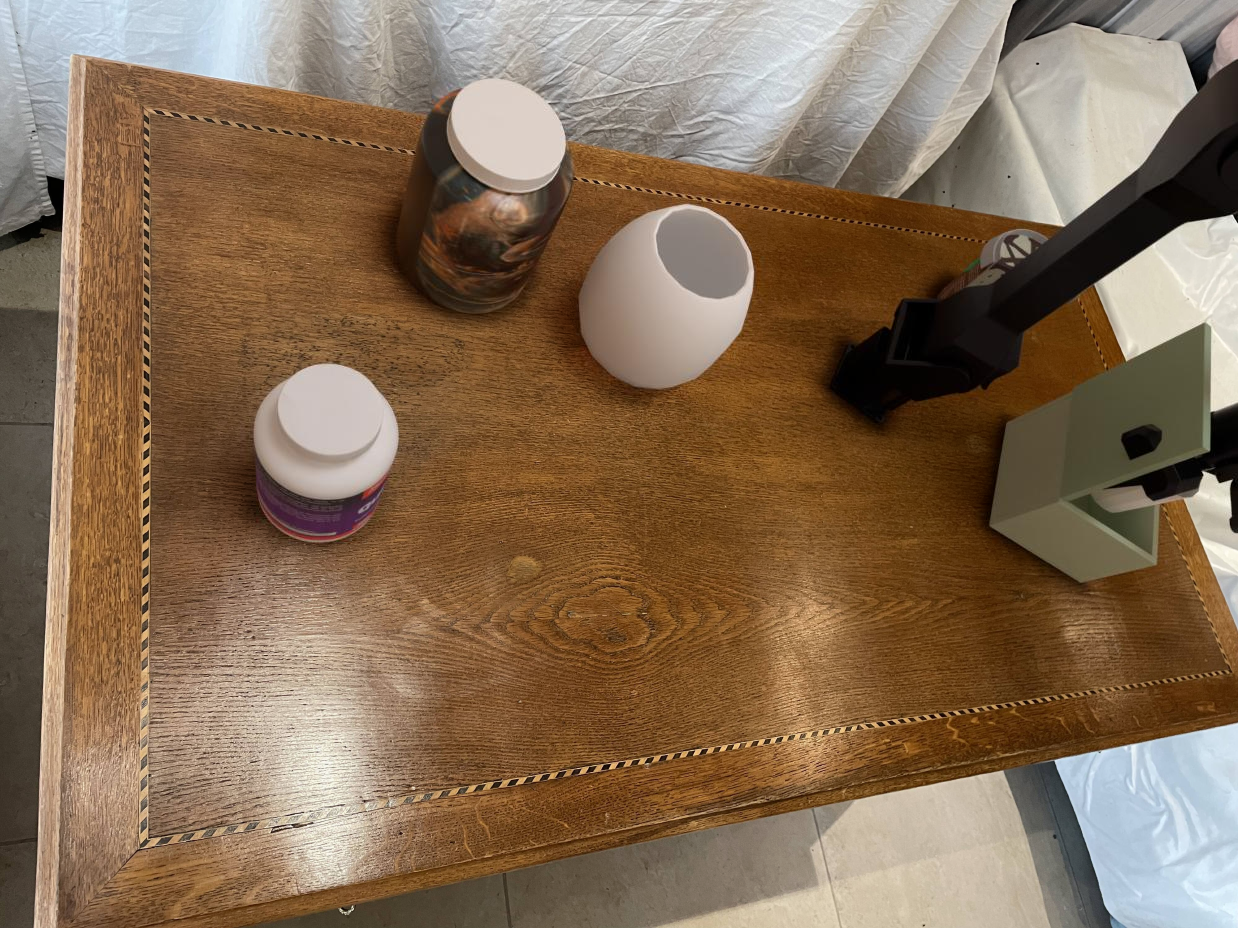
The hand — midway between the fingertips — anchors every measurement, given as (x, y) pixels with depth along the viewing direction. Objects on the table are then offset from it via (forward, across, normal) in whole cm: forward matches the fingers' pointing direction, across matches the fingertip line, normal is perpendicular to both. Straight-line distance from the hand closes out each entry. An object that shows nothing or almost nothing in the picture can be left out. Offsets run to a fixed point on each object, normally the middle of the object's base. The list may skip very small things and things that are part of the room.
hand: (1119, 479), depth 77 cm
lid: (-7, -5, +4) cm, 10 cm away
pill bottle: (+9, -71, +13) cm, 73 cm away
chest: (+8, -1, 0) cm, 8 cm away
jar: (+9, -56, +32) cm, 66 cm away
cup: (+8, -43, +23) cm, 50 cm away
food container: (+8, +1, +24) cm, 26 cm away
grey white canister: (+2, 0, 0) cm, 2 cm away
